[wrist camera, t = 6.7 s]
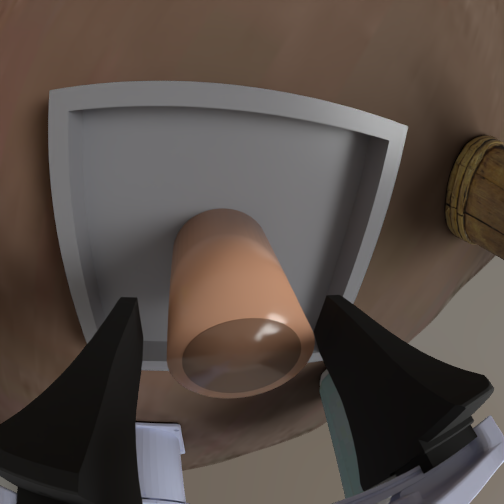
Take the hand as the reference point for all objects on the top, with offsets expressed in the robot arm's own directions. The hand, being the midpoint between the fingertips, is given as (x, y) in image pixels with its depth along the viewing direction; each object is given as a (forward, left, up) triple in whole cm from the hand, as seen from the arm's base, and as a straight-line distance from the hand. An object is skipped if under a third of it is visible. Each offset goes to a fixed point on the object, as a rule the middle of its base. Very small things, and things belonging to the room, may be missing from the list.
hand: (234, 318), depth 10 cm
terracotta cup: (0, 0, -5) cm, 5 cm away
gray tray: (0, 0, -6) cm, 6 cm away
